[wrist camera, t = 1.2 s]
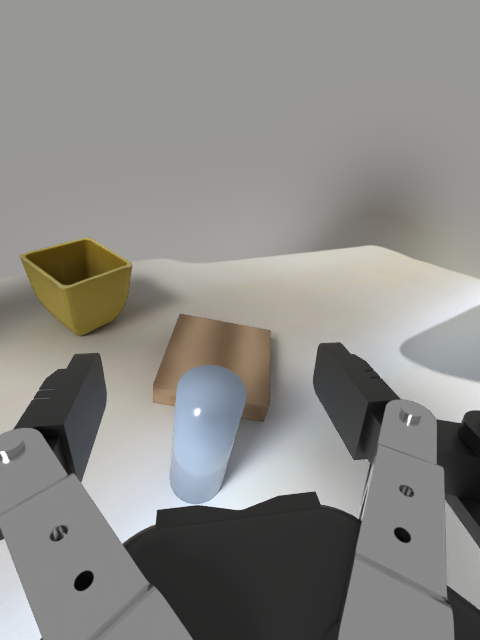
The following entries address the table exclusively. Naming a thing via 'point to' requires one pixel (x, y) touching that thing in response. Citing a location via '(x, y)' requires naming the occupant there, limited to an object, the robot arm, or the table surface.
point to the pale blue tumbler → (204, 430)
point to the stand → (217, 359)
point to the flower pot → (79, 283)
